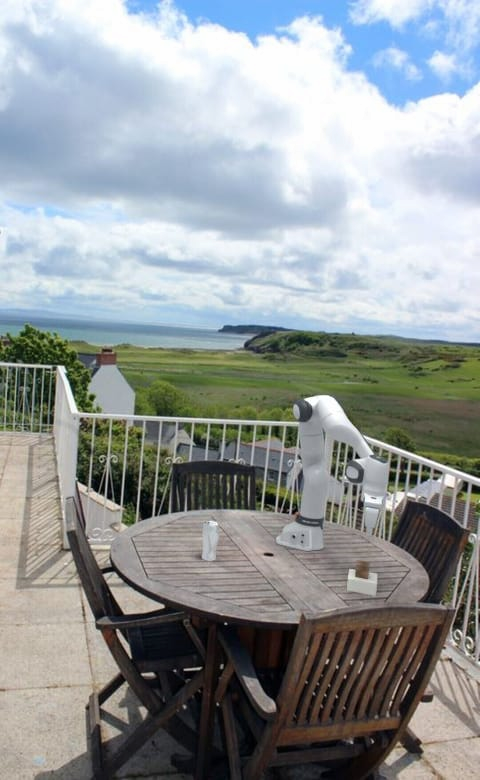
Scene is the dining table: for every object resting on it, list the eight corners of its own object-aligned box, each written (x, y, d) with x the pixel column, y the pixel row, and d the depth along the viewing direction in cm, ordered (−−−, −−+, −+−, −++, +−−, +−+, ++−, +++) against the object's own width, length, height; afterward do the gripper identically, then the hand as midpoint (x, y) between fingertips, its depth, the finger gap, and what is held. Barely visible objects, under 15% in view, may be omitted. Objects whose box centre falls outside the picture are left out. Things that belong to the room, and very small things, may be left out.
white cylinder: (219, 557, 239) (222, 523, 238) (212, 562, 233) (215, 527, 232) (205, 554, 242) (208, 519, 241) (197, 558, 236) (200, 523, 235)
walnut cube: (354, 577, 219) (356, 564, 219) (355, 572, 224) (357, 560, 224) (368, 579, 218) (369, 566, 218) (368, 574, 223) (370, 562, 223)
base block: (346, 591, 218) (347, 578, 217) (348, 580, 228) (349, 568, 228) (375, 596, 215) (377, 583, 215) (376, 585, 226) (377, 573, 225)
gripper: (364, 490, 230) (360, 523, 231) (364, 502, 210) (359, 538, 211) (380, 492, 229) (375, 526, 230) (381, 505, 209) (376, 541, 210)
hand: (368, 532), depth 220 cm, fingers open, 8 cm apart
